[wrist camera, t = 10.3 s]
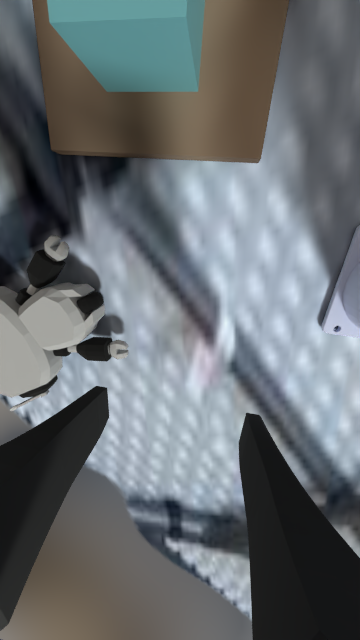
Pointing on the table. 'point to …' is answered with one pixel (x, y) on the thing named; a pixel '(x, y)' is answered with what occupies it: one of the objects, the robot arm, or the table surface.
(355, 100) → the table surface
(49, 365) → the robot toy
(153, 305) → the table surface
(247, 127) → the stub base
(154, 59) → the collar
